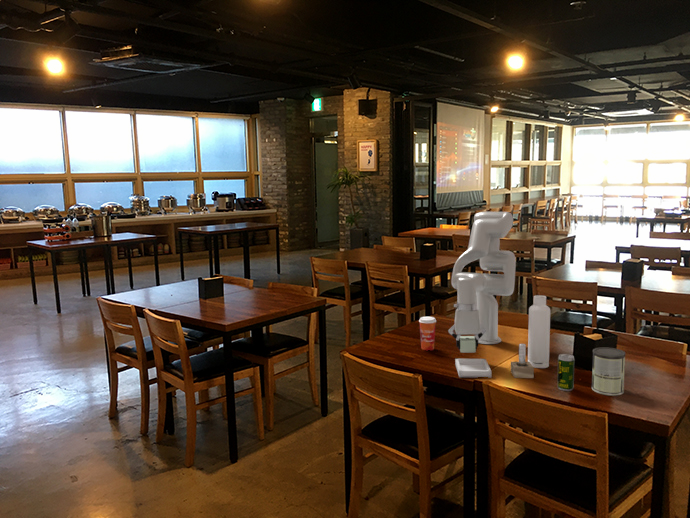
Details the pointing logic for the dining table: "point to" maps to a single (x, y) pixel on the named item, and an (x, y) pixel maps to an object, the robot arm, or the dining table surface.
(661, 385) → the dining table surface
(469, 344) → the green block
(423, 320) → the paper cup
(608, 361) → the coffee can
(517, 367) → the beige square block
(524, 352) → the rod
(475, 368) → the grey tray
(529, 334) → the bottle
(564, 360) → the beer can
